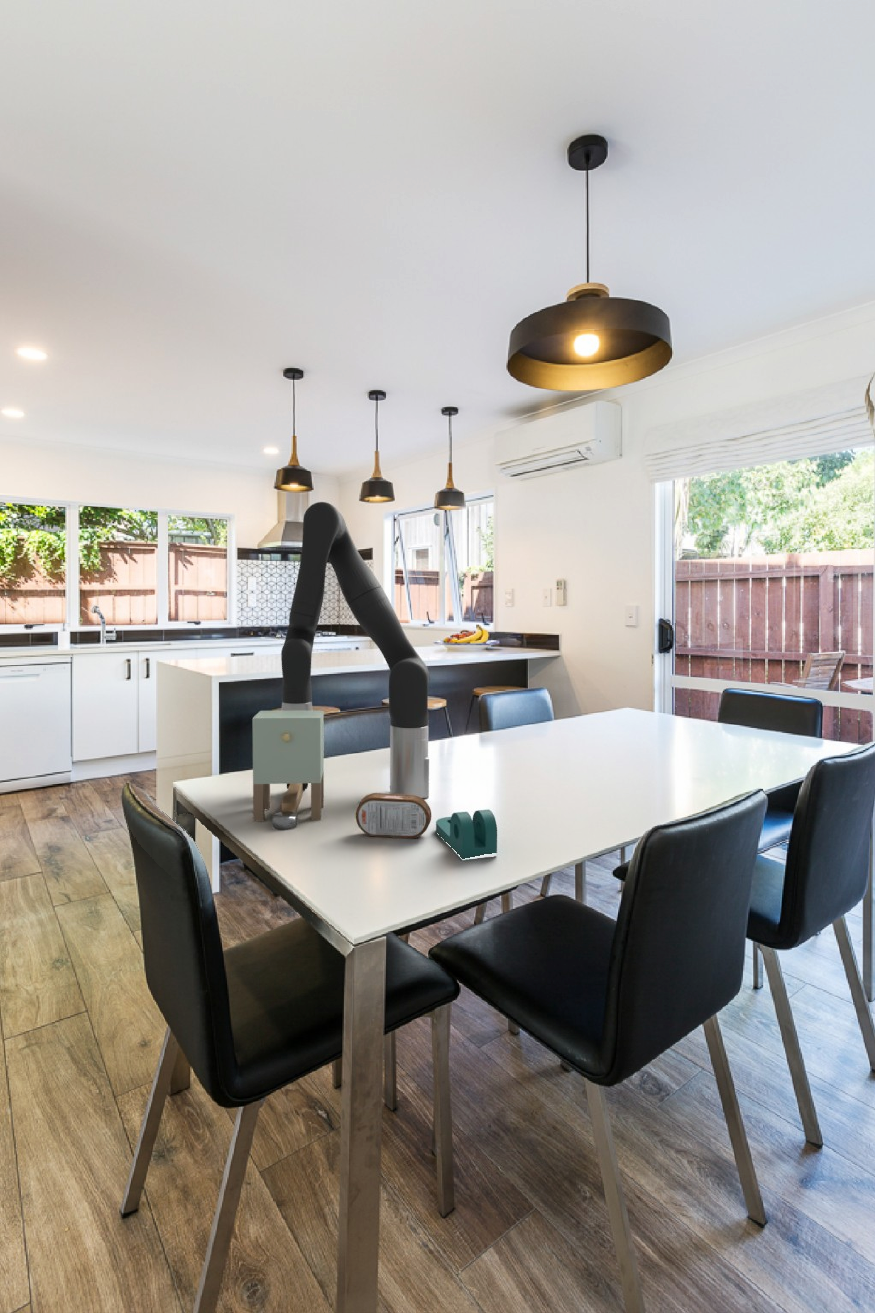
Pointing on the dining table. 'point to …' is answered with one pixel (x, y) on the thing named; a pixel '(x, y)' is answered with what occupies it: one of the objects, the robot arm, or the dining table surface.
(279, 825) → the steel token
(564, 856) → the dining table surface
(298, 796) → the oak slat
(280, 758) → the cabinet
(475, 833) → the bracket
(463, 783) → the dining table surface
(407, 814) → the tin
